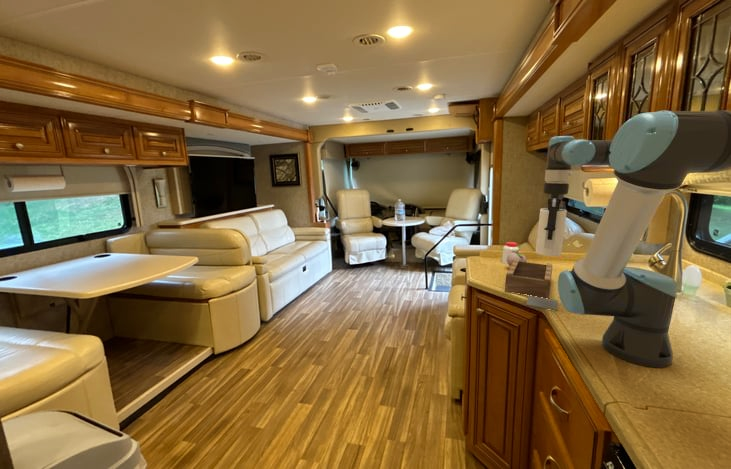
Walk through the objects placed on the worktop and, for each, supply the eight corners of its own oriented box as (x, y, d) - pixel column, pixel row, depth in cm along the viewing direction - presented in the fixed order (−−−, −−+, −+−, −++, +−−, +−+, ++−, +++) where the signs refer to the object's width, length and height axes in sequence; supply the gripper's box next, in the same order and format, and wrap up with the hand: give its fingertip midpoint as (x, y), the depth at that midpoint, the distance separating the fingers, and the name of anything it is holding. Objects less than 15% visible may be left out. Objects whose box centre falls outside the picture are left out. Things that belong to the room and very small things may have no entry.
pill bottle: (500, 263, 177) (502, 243, 174) (503, 260, 183) (505, 240, 181) (515, 265, 172) (517, 245, 170) (518, 262, 178) (520, 242, 176)
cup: (557, 257, 114) (563, 211, 111) (532, 253, 120) (537, 209, 116) (563, 253, 120) (569, 209, 117) (539, 249, 126) (543, 207, 122)
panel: (557, 311, 117) (557, 310, 117) (526, 305, 122) (526, 304, 122) (557, 302, 125) (557, 300, 125) (528, 296, 130) (528, 295, 130)
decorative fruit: (501, 267, 169) (503, 248, 167) (515, 266, 171) (517, 247, 169) (514, 273, 160) (516, 253, 158) (528, 271, 162) (530, 252, 160)
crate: (548, 299, 128) (551, 280, 126) (504, 291, 136) (506, 273, 134) (550, 280, 150) (552, 263, 148) (512, 274, 158) (514, 258, 156)
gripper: (569, 184, 104) (560, 253, 109) (568, 181, 122) (561, 241, 126) (543, 183, 108) (535, 250, 112) (545, 181, 126) (539, 239, 130)
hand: (548, 245), depth 119 cm, fingers closed on cup, 8 cm apart
